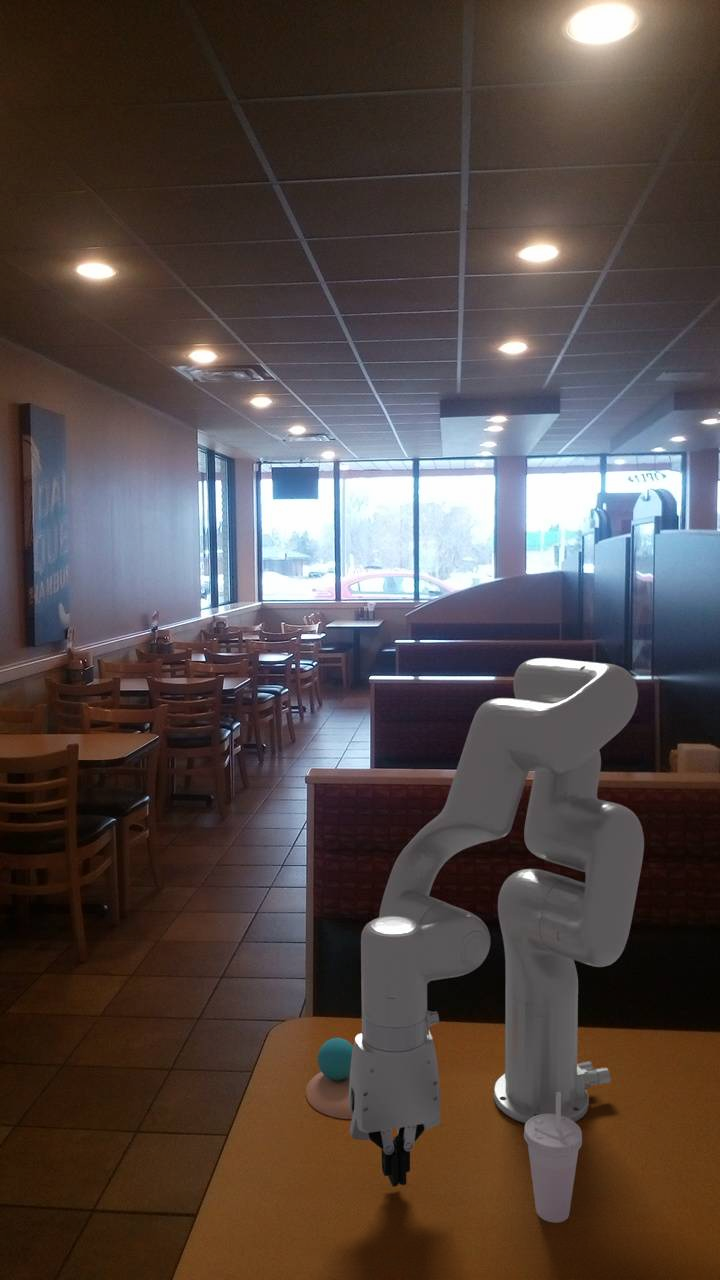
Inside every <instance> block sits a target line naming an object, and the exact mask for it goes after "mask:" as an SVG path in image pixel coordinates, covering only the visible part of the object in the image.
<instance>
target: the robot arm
mask: <svg viewBox="0 0 720 1280" xmlns="http://www.w3.org/2000/svg"><path fill="white" fill-rule="evenodd" d="M513 693H514V697H515V698H512V697H511V698H510V697H497V698H492V699H489V700H486V701H485V702H483V703H482V704H480V706H479V707H478V709H477V710H476V712H475V714H474V717H473V719H472V722H471V724H470V727H469V730H468V733H467V737H466V740H465V743H464V745H463V749H462V753H461V756H460V759H459V761H458V765H457V767H456V771H455V774H454V777H453V781H452V782H451V786H450V788H449V789H450V790H449V792H448V796H447V799H446V802H445V805H444V807H443V808H442V810H441V812H440V813H438V815H437V816H436V817H434V818H433V819H432V820H430V821H429V822H428V823H427V824H426V825H425V826H423V827H422V828H421V829H420V830H419V831H418V832H417V833H416V834H415V836H413V838H412V839H411V840H410V841H409V842H408V844H407V845H406V846H405V847H404V848H403V849H402V850H401V852H400V853H399V855H398V857H397V859H396V861H395V862H394V863H393V864H394V865H393V867H392V869H391V873H390V874H389V878H388V881H387V883H386V887H385V889H384V893H383V896H382V899H381V904H380V908H379V914H378V915H379V916H378V917H377V918H374V919H372V920H371V921H369V922H367V923H366V924H365V926H364V927H363V929H362V931H361V935H360V936H361V937H360V966H361V967H360V971H361V973H360V974H361V975H360V976H361V978H360V979H361V980H360V983H361V1033H357V1035H355V1037H354V1042H353V1045H352V1046H353V1051H352V1058H351V1068H350V1080H349V1108H350V1112H351V1113H353V1116H352V1119H350V1121H351V1122H350V1125H349V1132H350V1135H351V1137H352V1139H353V1140H361V1141H368V1140H369V1141H371V1142H372V1143H374V1144H375V1145H376V1146H377V1147H379V1148H380V1149H381V1170H382V1174H383V1175H384V1177H387V1178H388V1179H389V1182H390V1184H391V1186H392V1187H393V1188H395V1187H398V1186H399V1185H401V1186H405V1185H407V1173H409V1172H410V1171H411V1151H412V1150H413V1149H414V1145H415V1142H416V1141H417V1140H418V1138H420V1136H421V1135H422V1134H423V1133H424V1131H427V1130H429V1129H432V1128H434V1127H437V1126H439V1125H440V1124H441V1116H440V1114H441V1105H442V1104H441V1103H442V1102H441V1087H440V1086H441V1083H440V1077H439V1067H438V1059H437V1053H436V1048H435V1043H434V1039H433V1036H432V1034H431V1031H430V1028H431V1027H433V1026H434V1025H436V1024H439V1023H440V1017H439V1013H438V1010H437V1011H431V1010H430V1011H429V1010H428V984H429V983H430V982H431V981H437V980H443V979H450V978H457V977H461V976H464V975H467V974H469V973H471V972H473V971H475V970H476V969H477V968H479V967H480V966H481V965H482V964H483V963H484V961H485V960H486V959H487V956H488V954H489V951H490V948H491V935H490V931H489V928H488V926H487V925H486V923H485V922H484V921H483V920H482V919H481V917H478V916H477V915H475V914H474V913H473V912H470V911H468V910H465V909H463V908H460V907H457V906H455V905H452V904H450V903H448V902H446V901H443V900H440V899H438V898H435V897H432V896H430V893H431V890H432V887H433V884H434V882H435V880H436V878H437V875H438V873H439V871H440V870H441V869H442V867H444V865H445V863H446V862H448V860H450V859H451V858H452V857H454V855H456V854H458V853H460V852H461V851H463V850H466V849H468V848H470V847H474V846H476V845H479V844H482V843H488V842H491V841H495V840H499V839H502V838H504V837H506V836H507V835H509V833H510V832H511V830H512V829H513V828H512V827H513V824H514V820H515V819H516V815H517V814H516V813H517V811H518V807H519V804H520V801H521V798H522V794H523V791H524V789H525V784H526V780H527V778H528V775H529V772H530V771H531V772H534V775H533V779H532V784H531V789H530V790H531V791H530V793H529V794H530V795H529V801H528V805H527V811H526V817H525V823H524V832H523V835H524V838H523V839H524V843H525V847H526V848H527V850H528V851H529V852H530V853H531V854H533V855H535V856H536V857H537V858H540V859H543V860H545V861H547V862H551V863H553V864H556V865H560V866H564V867H567V868H569V869H573V870H576V871H580V872H583V873H585V880H584V882H583V881H579V880H575V879H573V878H570V877H568V876H564V875H561V874H556V873H554V872H551V871H548V870H543V869H538V868H525V869H520V870H517V871H515V872H513V873H511V875H509V876H508V877H507V878H506V879H505V880H504V882H503V884H502V886H501V888H500V891H499V893H498V899H497V914H498V921H499V925H500V931H501V934H502V935H501V936H502V940H503V941H502V942H503V947H504V948H503V949H504V961H505V1035H504V1036H505V1047H504V1048H505V1053H504V1054H505V1063H504V1065H505V1072H504V1074H502V1075H501V1076H500V1077H499V1078H498V1079H497V1080H496V1082H495V1084H494V1087H493V1099H494V1102H495V1104H496V1106H497V1108H498V1109H500V1111H502V1113H504V1114H505V1115H506V1116H508V1117H509V1118H511V1119H512V1120H515V1121H517V1122H520V1123H522V1124H524V1125H525V1124H526V1122H527V1121H528V1120H529V1119H530V1118H532V1117H534V1116H536V1115H540V1114H556V1092H560V1093H561V1116H564V1117H567V1118H569V1119H571V1120H572V1121H574V1122H575V1123H576V1122H577V1121H579V1120H580V1119H582V1118H583V1117H584V1116H585V1115H586V1114H587V1112H588V1110H589V1102H590V1101H589V1100H590V1099H589V1094H588V1091H587V1089H590V1088H591V1085H592V1086H593V1085H602V1084H609V1083H611V1079H612V1076H611V1072H610V1070H609V1069H608V1067H600V1068H599V1067H598V1068H594V1066H593V1063H592V1061H583V1062H580V1063H578V1028H579V1027H578V1025H579V1023H578V1021H579V1020H578V1019H579V1018H578V1016H579V1015H578V1013H579V1012H578V1011H579V1010H578V1008H579V1005H578V1004H579V1003H578V1001H579V997H578V995H579V977H578V972H577V966H576V964H575V961H576V962H579V963H582V964H585V965H588V966H592V967H595V968H596V967H597V968H603V967H607V966H611V965H612V964H614V963H615V962H616V961H617V960H618V959H619V958H620V957H621V956H622V953H623V952H624V949H625V948H626V944H627V941H628V939H629V934H630V930H631V927H632V926H631V925H632V921H633V915H634V910H635V905H636V899H637V893H638V887H639V882H640V876H641V871H642V866H643V865H642V864H643V861H644V860H643V858H644V850H645V837H644V832H643V826H642V824H641V821H640V819H639V818H638V816H637V815H636V814H635V812H634V811H632V810H631V809H630V808H628V807H627V806H624V805H622V804H620V803H616V802H611V801H607V800H604V799H599V798H598V788H599V783H600V774H601V769H602V768H601V767H602V757H601V756H602V755H601V752H600V751H601V750H600V749H602V748H603V747H604V746H605V745H606V744H607V743H609V742H610V741H611V740H612V739H613V738H614V737H616V736H617V735H618V734H619V733H620V732H621V731H622V730H623V729H624V727H626V726H627V725H628V723H629V722H630V720H631V719H632V717H633V715H634V713H635V711H636V708H637V705H638V700H639V699H638V698H639V694H638V693H639V692H638V686H637V683H636V680H635V678H634V677H633V676H632V674H631V673H630V672H629V671H628V670H627V669H625V668H624V667H621V666H619V665H617V664H613V663H605V662H594V661H586V660H585V661H583V660H577V659H576V660H575V659H567V658H557V657H538V658H532V659H528V660H526V661H524V662H522V663H521V664H520V665H518V667H517V668H516V670H515V673H514V676H513ZM396 1129H397V1131H396V1134H397V1135H396V1136H394V1138H393V1133H392V1130H396Z"/></svg>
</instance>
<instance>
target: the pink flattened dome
mask: <svg viewBox="0 0 720 1280" xmlns="http://www.w3.org/2000/svg"><path fill="white" fill-rule="evenodd" d="M349 1080H350V1075H349V1076H348V1077H347V1078H345V1079H342V1080H332V1079H329V1078H327V1077H326V1076H325V1075H324V1074H323V1073H322V1072H321V1071H320V1072H319V1073H317V1074H315V1075H314V1076H313V1077H312V1078H311V1079H310V1080H309V1082H308V1083H307V1086H306V1088H305V1096H306V1097H305V1098H306V1100H307V1102H308V1103H309V1105H310V1106H311V1107H312V1108H313V1109H314V1110H316V1111H318V1112H319V1113H321V1114H323V1115H325V1116H327V1117H331V1118H337V1119H341V1120H352V1116H353V1113H351V1112H350V1108H349Z"/></svg>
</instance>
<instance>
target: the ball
mask: <svg viewBox="0 0 720 1280" xmlns="http://www.w3.org/2000/svg"><path fill="white" fill-rule="evenodd" d="M353 1046H354V1045H352V1043H351V1042H349V1041H348V1040H347V1039H344V1038H341V1037H334V1038H330V1039H328V1040H326V1041H325V1042H324V1043H323V1044H322V1045H321V1047H320V1049H319V1051H318V1054H317V1064H318V1068H319V1071H320V1072H322V1073H323V1074H324V1075H325V1076H326V1077H327V1078H329V1079H332V1080H342V1079H345V1078H347V1077H348V1076H349V1075H350V1068H351V1058H352V1051H353Z"/></svg>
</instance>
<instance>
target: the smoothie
mask: <svg viewBox="0 0 720 1280" xmlns="http://www.w3.org/2000/svg"><path fill="white" fill-rule="evenodd" d="M523 1137H524V1140H525V1142H526V1143H527V1148H528V1156H529V1164H530V1172H531V1173H530V1174H531V1180H532V1190H533V1196H534V1197H533V1198H534V1205H535V1213H536V1214H537V1215H538V1217H540V1219H542V1220H544V1221H546V1222H549V1223H553V1224H556V1223H557V1224H558V1223H562V1222H566V1220H568V1218H569V1217H570V1211H571V1204H572V1197H573V1191H574V1182H575V1177H576V1170H577V1169H576V1168H577V1162H578V1155H579V1150H580V1148H581V1147H582V1145H583V1144H582V1143H583V1133H582V1129H581V1127H580V1125H578V1123H576V1122H574V1121H572V1120H571V1119H569V1118H567V1117H564V1116H561V1093H560V1092H556V1114H540V1115H536V1116H534V1117H532V1118H530V1119H529V1120H528V1121H527V1122H526V1124H525V1123H524V1132H523Z"/></svg>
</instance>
